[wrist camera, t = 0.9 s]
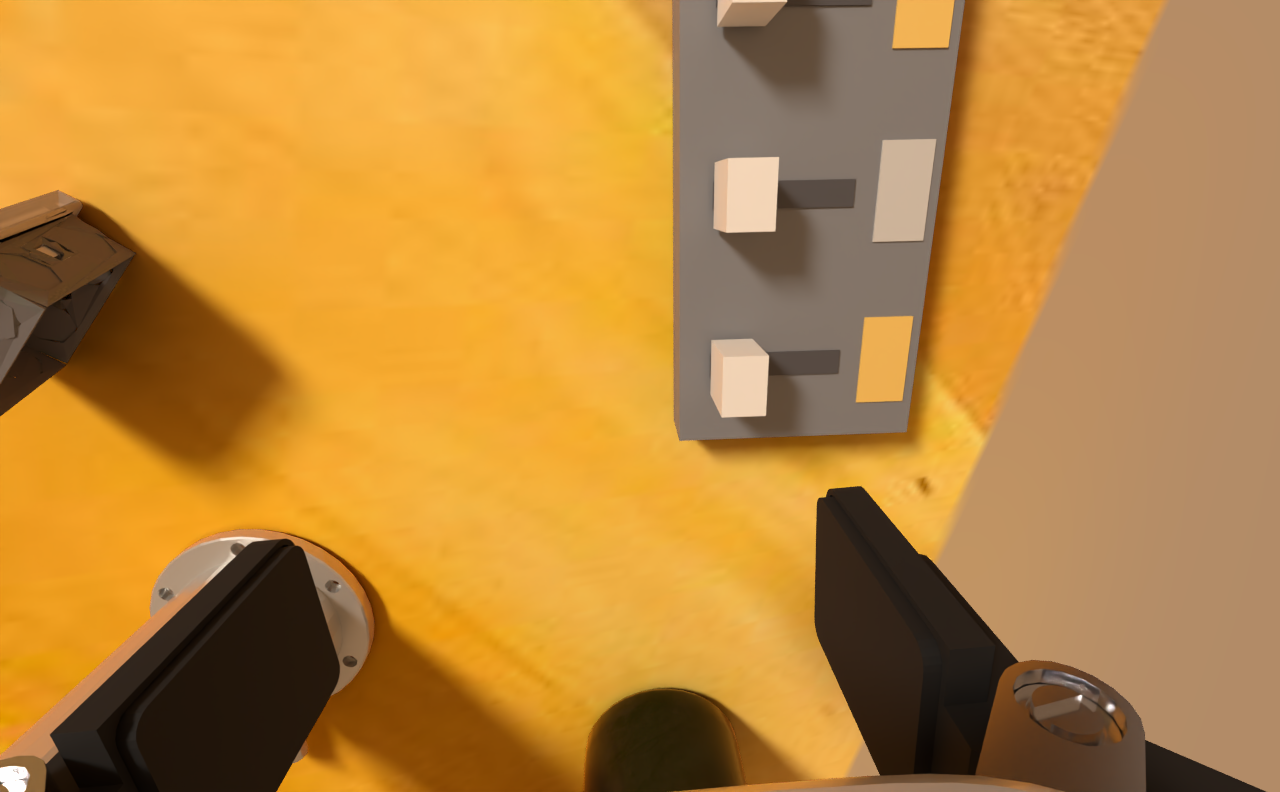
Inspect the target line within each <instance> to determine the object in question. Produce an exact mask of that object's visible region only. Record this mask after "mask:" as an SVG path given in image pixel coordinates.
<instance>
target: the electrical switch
mask: <svg viewBox="0 0 1280 792" xmlns="http://www.w3.org/2000/svg"><path fill="white" fill-rule="evenodd" d="M82 207H83V205H82V203H81V201H79V200H77V199H75V198H73V197H71V196H69V195H67V194H65V193H63V192H61V191H59V190H57V191H54V192H51V193H48V194H45V195H42V196H39V197H36V198H33V199H30V200H27V201H23V202H20V203H17V204H14V205H11V206H8V207H5V208H2V209H0V416H1V415H3V414H4V413H5V412H7V411H8V410H9V409H10V408H12V407H13V406H14V405H16V404H17V403H18V402H19V401H21V400H22V399H23V398H25V397H26V396H27V395H28V394H30V393H31V392H32V391H34V390H35V389H36V388H37V387H39V386H40V385H41V384H43V383H44V382H45V381H46V380H48V379H49V378H50V377H52V376H53V375H54V374H56V373H57V372H58V371H59V370H61V369H62V368H63V367H65V366H66V365H65V364H63V363H61V362H59V361H57V360H55V359H58V360H60V361H63V362H65V363H67V362H68V361H69V359H70V358H71V356H72V354H73V353H74V351H75V350H76V348H77V346H78V345H79V343H80V342H81V340H82V338H83V337H84V335H85V334H86V332H87V330H88V329H89V327H90V325H91V324H92V322H93V321H94V319H95V317H96V316H97V314H98V313H99V311H100V309H101V308H102V306H103V305H104V303H105V301H106V300H107V298H108V297H109V295H110V293H111V292H112V290H113V289H114V287H115V285H116V284H117V282H118V281H119V279H120V277H121V276H122V274H123V273H124V271H125V269H126V268H127V266H128V265H129V263H130V261H131V260H132V258H133V257H134V255H135V254H136V253H135V252H133V251H131V250H129V249H127V248H125V247H124V246H122V245H120V244H118V243H116V242H115V241H113V240H111V239H109V238H108V237H107V236H105V235H104V234H103V233H102V232H100V231H99V230H98V229H96V228H94V227H92V226H90V225H88V224H87V223H85V222H83V221H82V220H80V219H79V218H78V217H77V215H78V214H79V212H80V210H81V209H82ZM110 269H111V270H112V273H111V272H110ZM102 281H103V282H102ZM100 282H102V283H101V284H100V285H95V284H97V283H100ZM70 293H71V296H70V297H69V298H68V299H66V300H65V299H62V298H63V297H65V296H66V295H68V294H70ZM63 309H66V310H67V311H68V313H69V314H68V313H67V312H66V311H65V310H63ZM76 327H77V330H76ZM75 330H76V331H75ZM55 341H58V342H55ZM45 354H46V355H45ZM47 355H48V356H47ZM49 356H51V357H53V358H55V359H53V358H51V357H49Z"/></svg>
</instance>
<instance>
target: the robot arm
mask: <svg viewBox="0 0 1280 792" xmlns="http://www.w3.org/2000/svg"><path fill="white" fill-rule="evenodd" d="M150 615H151V618H150V619H149V620H148V621H147V622H146V623H145V624H144V625H142V626H141V627H140V628H139V629H138V630H137V631H136V632H135V633H134V634H133V635H132V636H130V637H129V638H128V639H127V640H126V641H125V642H124V643H123V644H122V645H121V646H120V647H118V648H117V649H116V650H115V651H114V652H113V653H112V654H111V655H110V656H109V657H107V658H106V659H105V660H104V661H103V662H102V663H101V664H100V665H99V666H98V667H97V668H95V669H94V670H93V671H92V672H91V673H90V674H89V675H88V676H87V677H86V678H84V679H83V680H82V681H81V682H80V683H79V684H78V685H77V686H76V687H75V688H74V689H72V690H71V691H70V692H69V693H68V694H67V695H66V696H65V697H64V698H63V699H62V700H60V701H59V702H58V703H57V704H56V705H55V706H54V707H53V708H52V709H51V710H49V711H48V712H47V713H46V714H45V715H44V716H43V717H42V718H41V719H40V720H39V721H37V722H36V723H35V724H34V725H33V726H32V727H31V728H30V729H29V730H28V731H27V732H25V733H24V734H23V735H22V736H21V737H20V738H19V739H18V740H17V741H16V742H14V743H13V744H12V745H11V746H10V747H9V748H8V749H7V750H6V751H5V752H4V753H2V754H1V755H0V792H276V791H277V790H278V788H279V786H280V784H281V783H282V781H283V779H284V777H285V776H286V774H287V772H288V770H289V768H290V767H291V765H292V763H295V762H298V761H299V760H301V759H302V758H303V757H304V756H305V755H306V754H307V752H308V745H307V741H306V738H307V737H308V735H309V733H310V731H311V730H312V728H313V726H314V724H315V723H316V721H317V719H318V717H319V716H320V714H321V712H322V710H323V708H324V707H325V705H326V703H327V701H328V700H329V698H330V696H332V695H334V694H336V693H338V692H339V691H341V690H342V689H343V688H344V687H345V686H346V685H348V684H349V683H350V682H351V681H352V680H353V679H354V677H355V676H356V675H357V673H358V672H359V671H360V669H361V668H362V666H363V664H364V662H365V660H366V658H367V656H368V654H369V652H370V649H371V646H372V642H373V639H374V617H373V612H372V608H371V604H370V602H369V600H368V598H367V595H366V593H365V591H364V589H363V588H362V586H361V585H360V583H359V582H358V581H357V579H356V578H355V576H354V575H353V574H352V573H351V572H350V571H349V570H348V569H347V568H346V567H345V566H344V565H343V564H342V563H341V562H340V561H339V560H337V559H336V558H335V557H333V556H332V555H330V554H329V553H327V552H326V551H325V550H323V549H322V548H319V547H317V546H315V545H313V544H311V543H309V542H307V541H305V540H303V539H300V538H297V537H294V536H291V535H288V534H284V533H280V532H274V531H268V530H261V529H239V530H233V531H227V532H221V533H217V534H215V535H212V536H209V537H207V538H204V539H201V540H199V541H198V542H196V543H195V544H193V545H191V546H190V547H188V548H187V549H185V550H184V551H183V552H182V553H180V554H179V555H178V556H177V557H176V558H175V559H173V560H172V561H171V562H170V563H169V564H168V565H167V566H166V568H165V569H164V570H163V572H162V573H161V574H160V575H159V577H158V579H157V581H156V583H155V585H154V587H153V590H152V596H151V603H150ZM815 628H816V632H817V636H818V639H819V642H820V644H821V646H822V648H823V650H824V653H825V655H826V657H827V659H828V661H829V664H830V666H831V668H832V670H833V672H834V675H835V677H836V679H837V681H838V684H839V686H840V688H841V690H842V692H843V695H844V697H845V699H846V701H847V703H848V706H849V708H850V710H851V712H852V714H853V717H854V719H855V721H856V723H857V725H858V728H859V730H860V732H861V734H862V736H863V739H864V741H865V743H866V745H867V747H868V750H869V752H870V754H871V756H872V759H873V761H874V763H875V765H876V767H877V770H878V772H879V774H880V776H862V777H846V778H831V779H819V780H807V781H794V782H780V783H766V784H754V785H742V786H731V787H720V788H709V789H698V790H687V791H676V792H1265V791H1263V790H1260V789H1259V788H1256V787H1254V786H1252V785H1249V784H1247V783H1245V782H1242V781H1240V780H1238V779H1235V778H1233V777H1231V776H1228V775H1226V774H1224V773H1221V772H1219V771H1216V770H1214V769H1212V768H1209V767H1207V766H1205V765H1202V764H1200V763H1198V762H1196V761H1193V760H1191V759H1188V758H1186V757H1184V756H1181V755H1179V754H1177V753H1174V752H1172V751H1170V750H1167V749H1165V748H1163V747H1160V746H1158V745H1156V744H1153V743H1151V742H1148V741H1146V740H1145V732H1144V728H1143V725H1142V721H1141V718H1140V717H1139V715H1138V714H1137V712H1136V711H1135V710H1134V708H1133V707H1132V705H1131V704H1130V703H1129V702H1128V701H1127V700H1126V699H1125V698H1124V697H1123V696H1121V695H1120V694H1119V693H1118V692H1117V691H1116V690H1115V689H1114V688H1112V687H1110V686H1109V685H1107V684H1106V683H1104V682H1103V681H1101V680H1099V679H1098V678H1096V677H1094V676H1093V675H1090V674H1088V673H1086V672H1083V671H1081V670H1079V669H1076V668H1074V667H1071V666H1067V665H1063V664H1059V663H1056V662H1052V661H1038V660H1030V661H1024V662H1018V661H1017V660H1016V659H1015V657H1014V656H1013V655H1012V654H1011V653H1010V651H1009V650H1008V649H1007V648H1006V647H1005V646H1004V645H1003V643H1002V642H1001V641H1000V640H999V639H998V637H997V636H996V635H995V634H994V633H993V632H992V630H991V629H990V628H989V627H988V626H987V625H986V623H985V622H984V621H983V620H982V619H981V618H980V616H979V615H978V614H977V613H976V612H975V611H974V609H973V608H972V607H971V606H970V605H969V604H968V602H967V601H966V600H965V599H964V598H963V597H962V595H961V594H960V593H959V592H958V591H957V590H956V588H955V587H954V586H953V585H952V584H951V583H950V582H949V580H948V579H947V578H946V577H945V576H944V575H943V573H942V572H941V571H940V570H939V569H938V568H937V566H936V565H935V564H934V563H933V562H932V561H931V560H930V559H929V558H928V557H927V556H925V555H922V554H918V553H917V551H916V550H915V549H914V548H913V547H912V545H911V544H910V543H909V542H908V541H907V539H906V538H905V537H904V536H903V535H902V533H901V532H900V531H899V530H898V529H897V528H896V526H895V525H894V524H893V523H892V522H891V520H890V519H889V518H888V517H887V516H886V514H885V513H884V512H883V511H882V510H881V508H880V507H879V506H878V505H877V504H876V502H875V501H874V500H873V499H872V498H871V496H870V495H869V494H868V493H867V492H866V491H865V489H864V488H862V487H861V486H857V487H846V488H835V489H829V490H828V492H827V495H826V497H824V498H819V499H818V501H817V523H816V570H815Z"/></svg>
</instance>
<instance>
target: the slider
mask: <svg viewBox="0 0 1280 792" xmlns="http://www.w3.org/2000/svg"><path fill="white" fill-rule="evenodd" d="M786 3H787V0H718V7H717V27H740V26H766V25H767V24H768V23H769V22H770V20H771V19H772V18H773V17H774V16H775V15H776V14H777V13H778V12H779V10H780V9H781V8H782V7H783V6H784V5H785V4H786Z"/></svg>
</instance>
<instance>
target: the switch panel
mask: <svg viewBox="0 0 1280 792" xmlns="http://www.w3.org/2000/svg"><path fill="white" fill-rule="evenodd" d="M964 4H965V0H787V3H786V4H785V5H784V6H783V7H782V8H781V9H780V10H779V12H778V13H777V14H776V15H775V16H774V17H773V18H772V19H771V20H770V22H769V23H768V24H767V25H766V26H740V27H717V7H718V0H673V291H674V422H675V426H676V429H677V433H678V437H679V440H680V441H684V440H710V439H737V438H763V437H790V436H817V435H843V434H870V433H897V432H907V425H908V418H909V410H910V403H911V396H912V388H913V381H914V373H915V366H916V359H917V351H918V344H919V336H920V329H921V322H922V314H923V307H924V299H925V292H926V285H927V277H928V270H929V263H930V255H931V248H932V240H933V233H934V226H935V218H936V211H937V203H938V196H939V189H940V181H941V174H942V166H943V159H944V152H945V144H946V137H947V129H948V122H949V115H950V107H951V100H952V92H953V85H954V78H955V70H956V63H957V55H958V48H959V41H960V33H961V26H962V18H963V11H964ZM755 157H779V170H778V190H777V210H776V229H775V231H773V232H733V233H726V232H723V231H720V230H716V229H713V226H714V171H715V162H718V161H721V160H724V159H727V158H755ZM727 339H753V340H754V341H755V342H756V343H757V344H758V345H759V346H760V347H761V348H762V349H763V350H764V351H765V352H766V353H767V354H768V355H769V366H768V385H767V405H766V416H751V417H724V418H722V417H721V415H720V413H719V411H718V409H717V407H716V405H715V403H714V401H713V399H712V397H711V395H710V390H711V340H727Z"/></svg>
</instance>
